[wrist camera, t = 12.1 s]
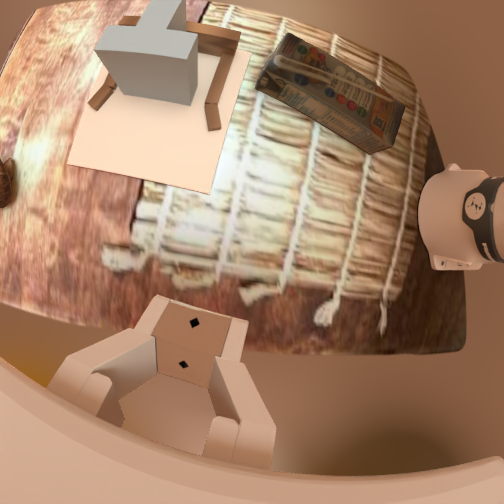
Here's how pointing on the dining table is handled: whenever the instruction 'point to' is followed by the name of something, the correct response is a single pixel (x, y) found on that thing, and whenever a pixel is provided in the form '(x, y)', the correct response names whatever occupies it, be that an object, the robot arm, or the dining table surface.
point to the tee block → (153, 54)
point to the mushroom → (5, 182)
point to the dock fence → (209, 43)
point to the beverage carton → (332, 94)
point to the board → (159, 131)
